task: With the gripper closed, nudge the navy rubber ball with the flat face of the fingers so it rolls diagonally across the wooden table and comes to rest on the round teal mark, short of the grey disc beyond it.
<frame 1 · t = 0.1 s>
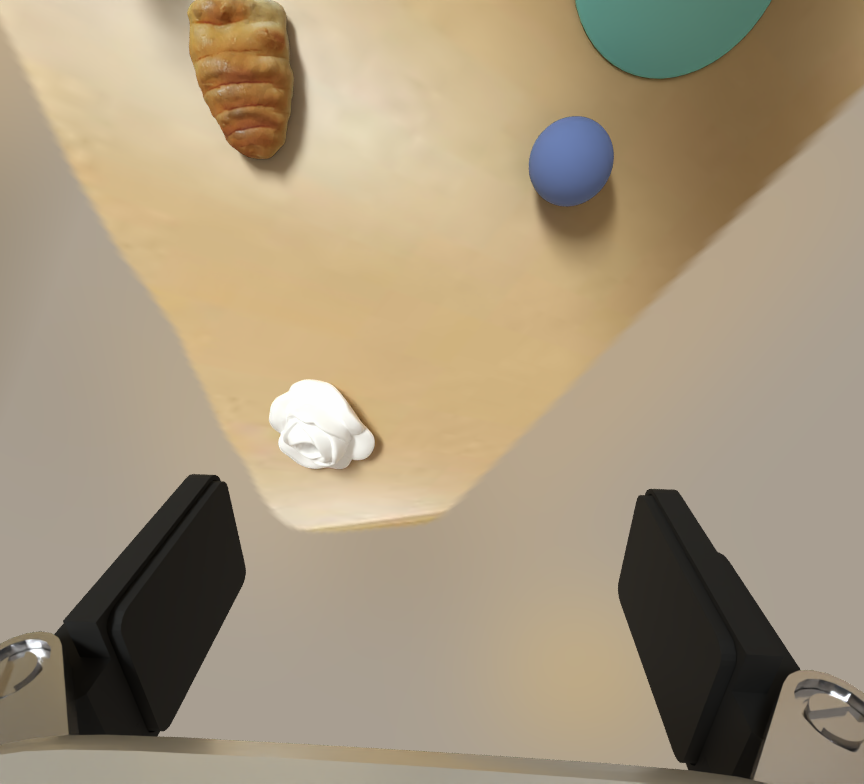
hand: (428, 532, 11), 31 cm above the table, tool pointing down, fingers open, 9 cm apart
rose: (327, 421, 47), on the table
ball: (570, 162, 33), on the table
pastry: (255, 74, 35), on the table
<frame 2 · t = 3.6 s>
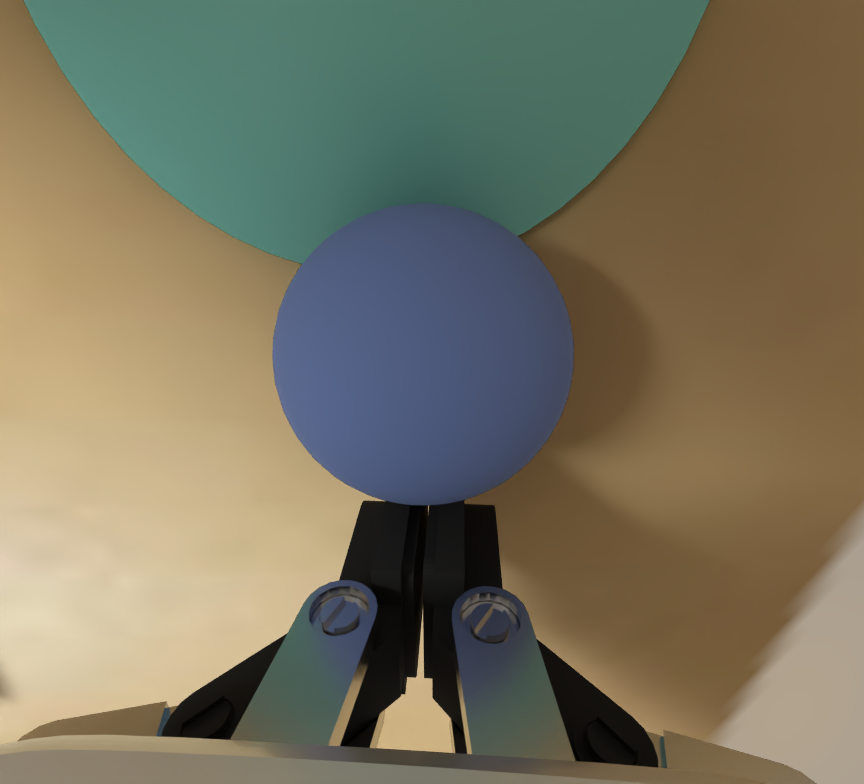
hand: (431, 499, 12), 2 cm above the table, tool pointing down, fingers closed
ball: (423, 357, 9), on the table, touching gripper
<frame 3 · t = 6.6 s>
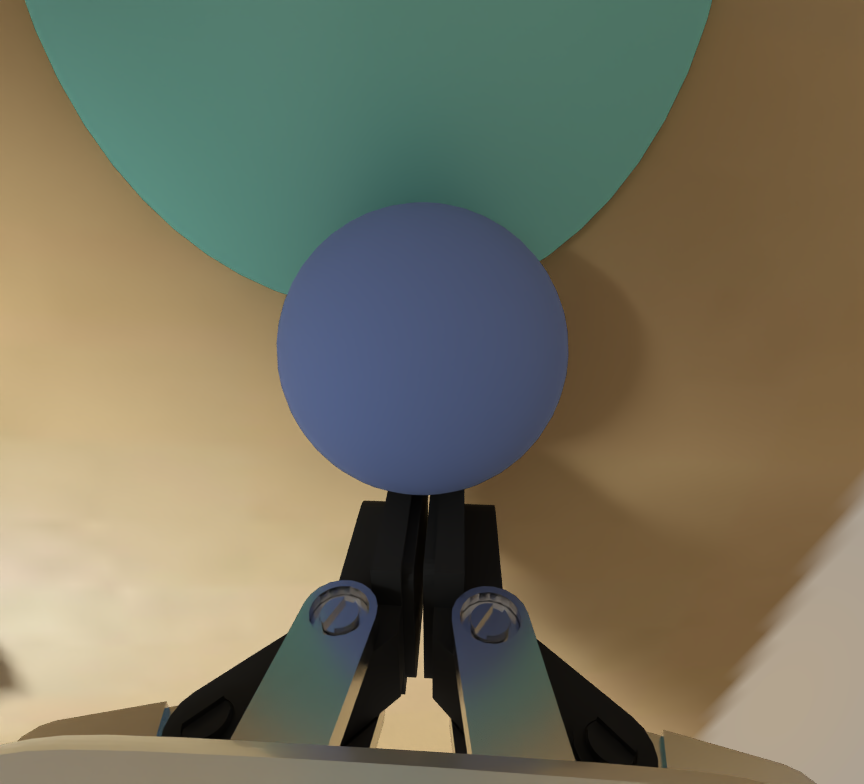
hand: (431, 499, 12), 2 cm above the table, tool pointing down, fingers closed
ball: (423, 352, 10), on the table, touching gripper
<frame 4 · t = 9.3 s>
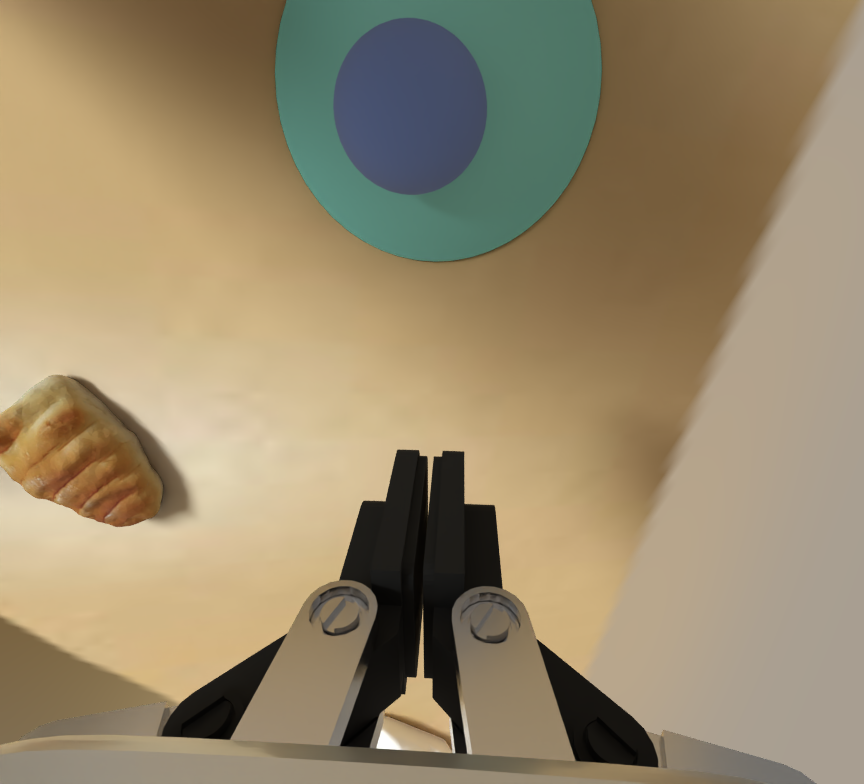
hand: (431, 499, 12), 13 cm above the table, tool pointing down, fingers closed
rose: (393, 737, 40), on the table
ball: (410, 113, 18), on the table
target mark: (435, 97, 20), on the table
pastry: (95, 437, 29), on the table
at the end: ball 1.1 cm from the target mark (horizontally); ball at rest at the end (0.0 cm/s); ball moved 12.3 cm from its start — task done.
